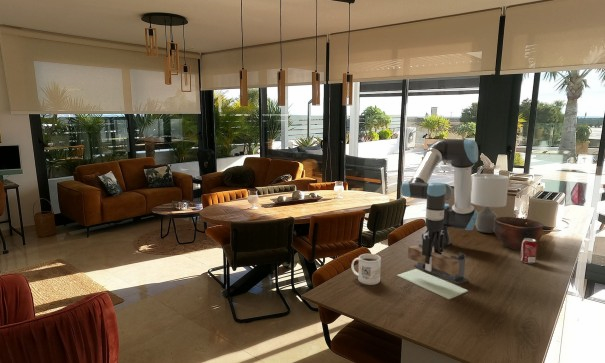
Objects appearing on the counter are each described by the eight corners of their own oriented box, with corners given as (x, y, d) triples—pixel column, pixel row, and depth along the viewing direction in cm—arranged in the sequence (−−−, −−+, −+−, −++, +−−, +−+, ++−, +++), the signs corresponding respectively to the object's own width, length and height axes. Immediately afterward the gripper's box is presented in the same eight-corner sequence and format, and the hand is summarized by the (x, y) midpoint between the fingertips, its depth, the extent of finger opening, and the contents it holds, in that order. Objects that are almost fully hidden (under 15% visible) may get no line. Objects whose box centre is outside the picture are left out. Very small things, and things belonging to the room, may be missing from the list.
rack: (414, 266, 190) (415, 243, 188) (423, 263, 194) (424, 240, 192) (458, 284, 170) (460, 258, 168) (467, 280, 174) (469, 255, 172)
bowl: (535, 242, 227) (537, 217, 225) (546, 256, 204) (549, 229, 202) (489, 237, 235) (491, 214, 233) (494, 251, 212) (497, 224, 210)
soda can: (537, 264, 192) (539, 242, 190) (522, 263, 194) (525, 241, 192) (532, 260, 199) (534, 238, 197) (518, 259, 200) (520, 237, 198)
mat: (397, 276, 179) (397, 274, 179) (415, 269, 186) (415, 268, 186) (448, 299, 156) (449, 298, 156) (467, 291, 163) (467, 290, 163)
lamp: (464, 226, 260) (468, 173, 254) (496, 227, 257) (501, 174, 251) (473, 235, 240) (478, 178, 233) (508, 237, 237) (514, 179, 231)
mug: (365, 286, 167) (366, 263, 166) (350, 276, 178) (350, 254, 176) (384, 282, 172) (385, 258, 170) (368, 272, 183) (368, 250, 181)
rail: (407, 257, 178) (408, 246, 177) (413, 256, 180) (414, 245, 180) (452, 275, 159) (453, 262, 158) (458, 273, 161) (459, 260, 160)
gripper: (429, 223, 158) (426, 276, 162) (454, 217, 167) (450, 267, 171) (414, 219, 164) (412, 270, 168) (439, 213, 174) (436, 262, 178)
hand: (431, 269), depth 170 cm, fingers closed on rail, 4 cm apart
